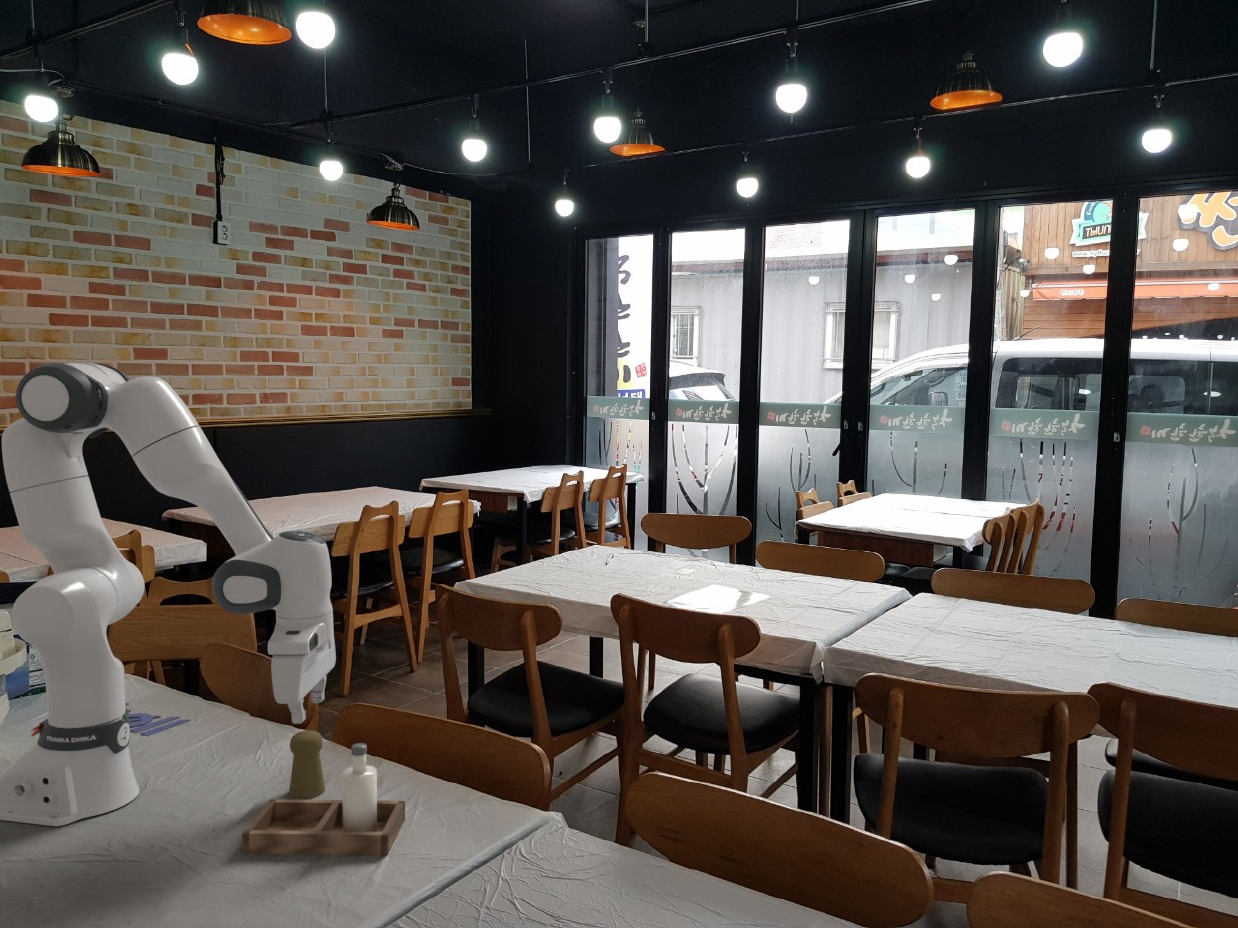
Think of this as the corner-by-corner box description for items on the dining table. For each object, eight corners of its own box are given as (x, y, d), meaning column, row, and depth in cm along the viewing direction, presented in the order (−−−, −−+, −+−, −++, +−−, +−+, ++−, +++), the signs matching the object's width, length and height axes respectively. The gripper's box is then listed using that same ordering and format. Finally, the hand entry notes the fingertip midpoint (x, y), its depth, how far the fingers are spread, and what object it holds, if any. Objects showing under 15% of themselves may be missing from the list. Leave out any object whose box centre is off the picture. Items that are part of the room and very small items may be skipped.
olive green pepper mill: (314, 806, 150) (313, 741, 150) (280, 803, 152) (279, 738, 151) (333, 791, 156) (332, 728, 155) (300, 787, 158) (299, 725, 157)
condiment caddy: (242, 859, 134) (242, 833, 133) (271, 823, 145) (270, 799, 144) (387, 861, 134) (387, 834, 133) (405, 825, 145) (404, 800, 144)
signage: (56, 709, 192) (102, 695, 201) (56, 713, 192) (102, 698, 201) (145, 735, 179) (190, 718, 188) (145, 738, 179) (190, 722, 188)
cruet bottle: (338, 843, 137) (337, 752, 135) (348, 827, 142) (347, 739, 140) (372, 844, 137) (371, 752, 135) (381, 828, 142) (380, 739, 140)
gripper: (307, 614, 162) (310, 690, 163) (262, 647, 142) (266, 734, 143) (343, 613, 162) (346, 690, 163) (303, 647, 142) (307, 734, 143)
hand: (308, 711), depth 153 cm, fingers open, 8 cm apart
